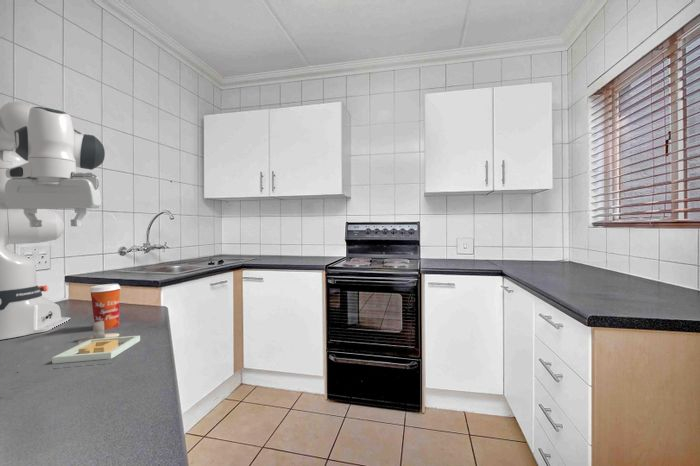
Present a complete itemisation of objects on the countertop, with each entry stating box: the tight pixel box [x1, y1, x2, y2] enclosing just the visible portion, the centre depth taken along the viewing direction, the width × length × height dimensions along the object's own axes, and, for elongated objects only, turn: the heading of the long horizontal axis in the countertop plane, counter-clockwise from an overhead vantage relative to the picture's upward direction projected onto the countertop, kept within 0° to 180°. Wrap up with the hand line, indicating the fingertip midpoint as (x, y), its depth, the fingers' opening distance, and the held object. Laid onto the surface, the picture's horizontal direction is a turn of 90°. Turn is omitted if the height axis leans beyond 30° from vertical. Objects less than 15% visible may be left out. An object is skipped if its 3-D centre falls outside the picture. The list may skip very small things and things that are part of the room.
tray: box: [51, 335, 141, 370], centre depth 76 cm, size 12×12×2 cm
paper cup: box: [89, 283, 122, 331], centre depth 98 cm, size 8×8×14 cm
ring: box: [78, 340, 119, 354], centre depth 76 cm, size 7×5×2 cm
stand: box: [77, 321, 120, 345], centre depth 87 cm, size 9×9×6 cm
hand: (56, 226), depth 82 cm, fingers open, 8 cm apart
